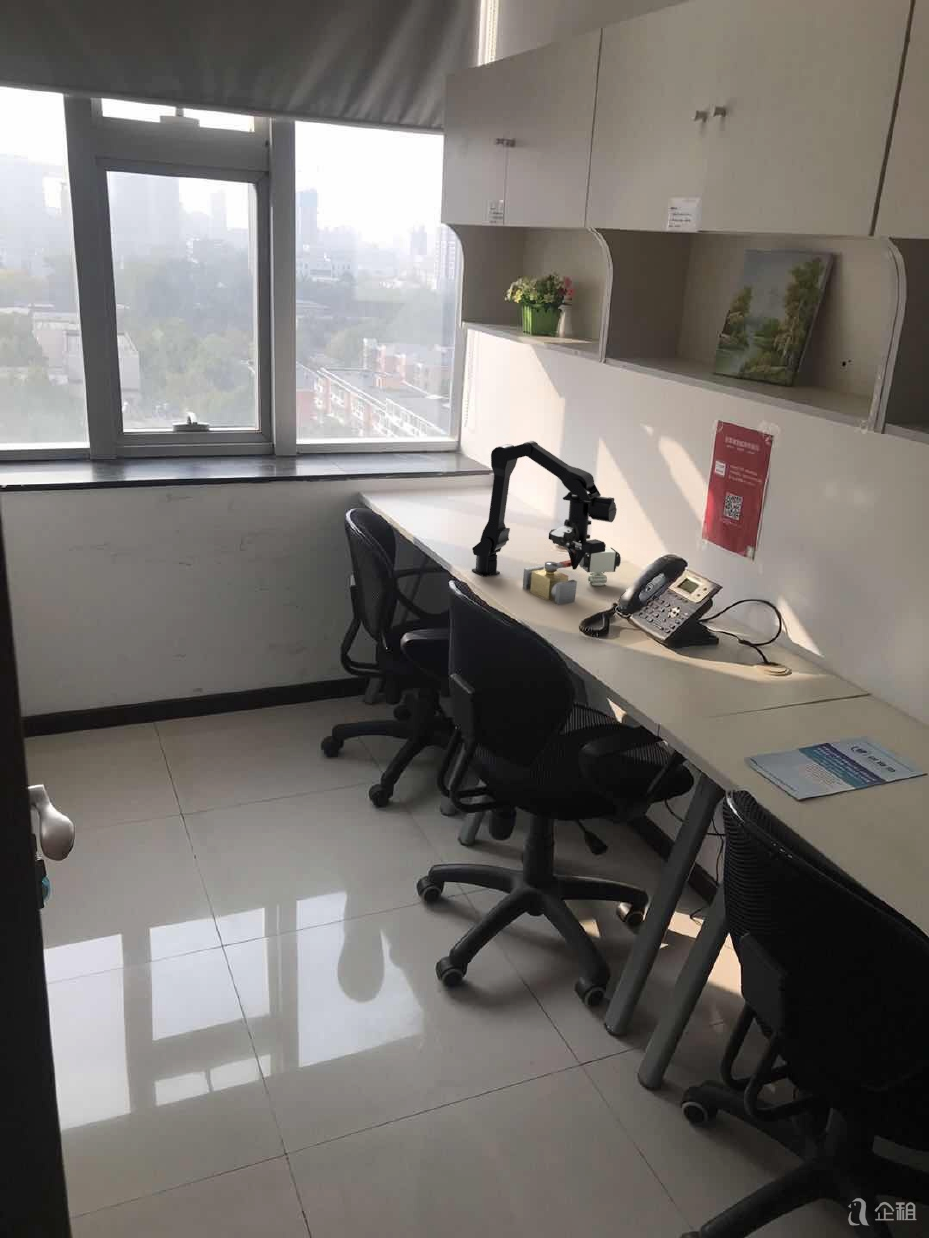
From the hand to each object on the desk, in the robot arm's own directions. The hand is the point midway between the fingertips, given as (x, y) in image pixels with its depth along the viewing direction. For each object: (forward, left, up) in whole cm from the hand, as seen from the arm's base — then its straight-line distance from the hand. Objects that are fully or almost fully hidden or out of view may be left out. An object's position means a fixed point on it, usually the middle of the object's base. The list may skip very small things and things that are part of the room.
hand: (574, 569), depth 285 cm
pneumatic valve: (-3, +12, -8) cm, 15 cm away
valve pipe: (-2, -8, -7) cm, 11 cm away
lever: (-2, -3, 0) cm, 4 cm away
